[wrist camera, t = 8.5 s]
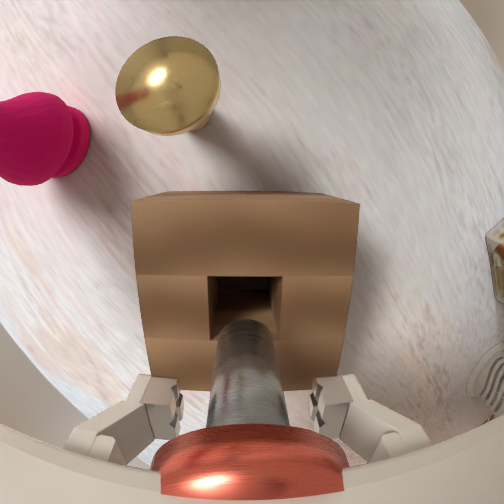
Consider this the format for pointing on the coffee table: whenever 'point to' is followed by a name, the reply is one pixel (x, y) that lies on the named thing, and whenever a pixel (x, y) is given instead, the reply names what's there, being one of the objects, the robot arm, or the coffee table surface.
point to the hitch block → (244, 264)
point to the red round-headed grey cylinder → (249, 433)
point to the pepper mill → (40, 138)
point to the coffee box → (497, 258)
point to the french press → (489, 380)
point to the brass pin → (169, 86)
